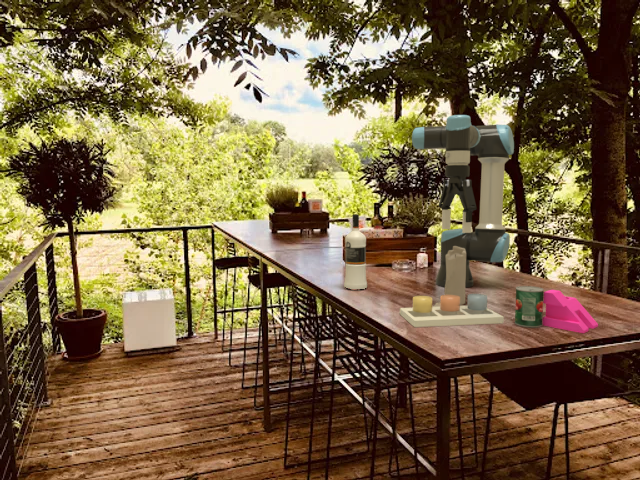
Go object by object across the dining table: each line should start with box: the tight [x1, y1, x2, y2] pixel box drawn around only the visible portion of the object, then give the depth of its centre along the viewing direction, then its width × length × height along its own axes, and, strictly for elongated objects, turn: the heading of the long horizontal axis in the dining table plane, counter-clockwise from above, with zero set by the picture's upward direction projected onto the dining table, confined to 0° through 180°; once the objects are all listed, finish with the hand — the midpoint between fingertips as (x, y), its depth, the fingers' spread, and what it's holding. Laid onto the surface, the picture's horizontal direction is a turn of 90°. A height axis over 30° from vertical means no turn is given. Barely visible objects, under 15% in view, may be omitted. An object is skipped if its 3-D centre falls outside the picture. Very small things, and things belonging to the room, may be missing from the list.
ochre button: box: [412, 295, 433, 313], centre depth 170 cm, size 6×6×4 cm
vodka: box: [343, 213, 368, 290], centre depth 218 cm, size 9×9×30 cm
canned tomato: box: [514, 285, 545, 328], centre depth 164 cm, size 8×8×11 cm
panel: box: [399, 304, 505, 328], centre depth 172 cm, size 16×28×2 cm, turn 98°
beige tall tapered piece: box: [432, 246, 466, 307], centre depth 191 cm, size 7×14×20 cm, turn 130°
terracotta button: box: [439, 294, 461, 312], centre depth 171 cm, size 6×6×4 cm
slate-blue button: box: [466, 293, 488, 310], centre depth 173 cm, size 6×6×4 cm
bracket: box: [542, 289, 599, 334], centre depth 162 cm, size 12×10×10 cm
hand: (456, 230), depth 177 cm, fingers open, 13 cm apart
